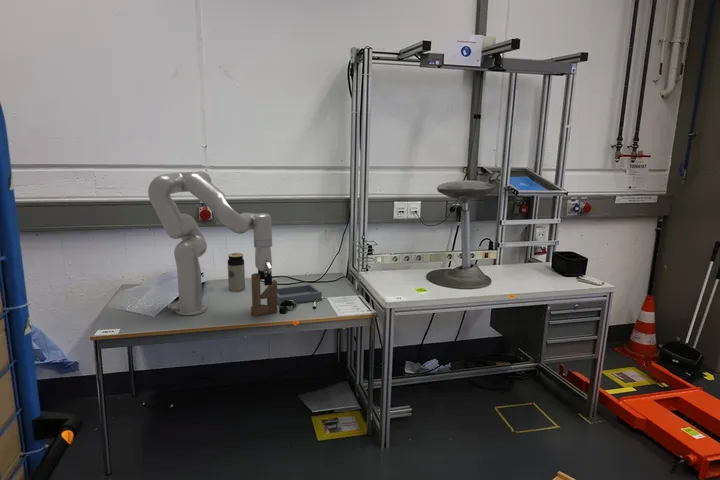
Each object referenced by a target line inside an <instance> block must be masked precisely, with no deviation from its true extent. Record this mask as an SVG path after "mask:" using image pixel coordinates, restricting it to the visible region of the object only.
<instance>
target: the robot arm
mask: <svg viewBox="0 0 720 480" xmlns="http://www.w3.org/2000/svg"><path fill="white" fill-rule="evenodd" d="M147 189H148V190H147V194H148V199H149V201H150V203H151V205H152V207H153V209H154V211H155V212H156V214H157V217H158V218H159V221H160V222H161V224H162V226H163V228H164V230H165V232H166V235H168V236H169V237H170V239H174V240H175V239H176V240H177V239H181V241H180V242H178V243H177V244H176V246H175V248H174V251H173V255H174V259H175V264H176V271H177V272H176V274H177V285H178V286H177V287H178V300H177V302H175V303H168V304H167V309H171V310H175V313H176V314H178V315H180V316H194V315H199V314H200V315H201V314H203V313H204V312H205V311H207V305H205V304H203V288H202V274H201V273H202V271H201V265H200V261H199V258H200V257H202V256H203V255H204V254H205V253H206V251H207V249H208V244H207V242H206V241H207V240H206V239H205V237H204V234H203V233H202V231H201V229H200V227H199V225H198V223H197V221H196V220H195V219H194V217H193V216H191V215H190V214H188V213H181V211H180V209H179V207H178V205H177V204H176V202H175V201H174V199H173V198H172V197H171V195H174V194H177V193H186V192H187V193H190V194H192V196H194V197H195V198H197V199H198V200H199V201H200V202H202V203H203V204H204V205H205V206H207V208H209V209H210V210H211V212H212V213H213V214H214V216H215V217H216V219H217V220H218V221H219V222H220V223H221V224H223V225H224V226H225V227H226V228H227V229H229V230H230V231H232V232H233V233H235V234H238V235H243V234H245V233H247V232H248V231H250V230H252V231H253V232H252V233H253V247H254V248H255V251H254V256H255V257H254V259H255V260H254V263H255V264H254V265H255V266H254V267H255V268H256V269H257V273H258V274H260V281H261V280H263V282H264V283H263V285H264V286H265V287H266V286H267V287H268V286H269V285H272V281H273V274H272V273H273V272H272V270H273V258H272V250H271V249H272V247H273V236H272V235H273V234H272V233H273V231H272V216H271V215H270V214H269V213H263V212H262V213H253V212H242V213H238V211H236V209H235V210H234V209H233V208H232V207H231V206H230V204H229V203H228V201H227V199H226V195H225V192H224V191H222V190H221V189H220V188H218V187H217V186H216V185H214V184H213V183H212V178H211V176H210V175H209V174H208V173H207V172H206V171H202V170H199V171H183V172H182V171H181V172H169V173H162V174H159V175H157V176H155V177H154V178H153V179H152V180H151V182H150V183H149V185H148V188H147Z"/></svg>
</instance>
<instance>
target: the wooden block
mask: <svg viewBox="0 0 720 480" xmlns="http://www.w3.org/2000/svg"><path fill="white" fill-rule="evenodd" d="M250 279H251V306H250V314H251V315H252V316H253V317H258V316H264V315H269V314H276V313H278V304H277V288H278V281H277V280H275V279H272V285H267V287H266V288H265V289H264V290H263V292H262V293H261V280H260V274H258V272H256V273H252V274H251V278H250ZM265 299H266V304H263V303H262V300H265ZM261 303H262V304H261Z"/></svg>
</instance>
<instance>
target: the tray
mask: <svg viewBox="0 0 720 480" xmlns="http://www.w3.org/2000/svg"><path fill="white" fill-rule="evenodd" d="M313 299H317V300H318V301H317V302H320V301H322V299H323V293H322V291H321V290H319V289H318V288H317V287H315V286H314V285H313V284H312V283H311V284H309V283H308V284H302V285H301V284H300V285H292V286H285V287H277V306H279V305H280V304H281V303H282V302H283V301H284V300H294V301H295V302H296V303H297V304H296V305H300V304H305V303H307V304H308V303H313V302H312V301H313ZM299 303H300V304H299Z"/></svg>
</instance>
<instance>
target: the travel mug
mask: <svg viewBox="0 0 720 480" xmlns="http://www.w3.org/2000/svg"><path fill="white" fill-rule="evenodd" d="M227 256H228V259H227V278H228V279H227V280H228V290H229V291H231V292H241V291H244V290H245V289H246V277H245V276H246V275H245V274H246V273H245V260H244V258H243V257H244V253H242V252H231V253H229V254H227Z"/></svg>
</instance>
